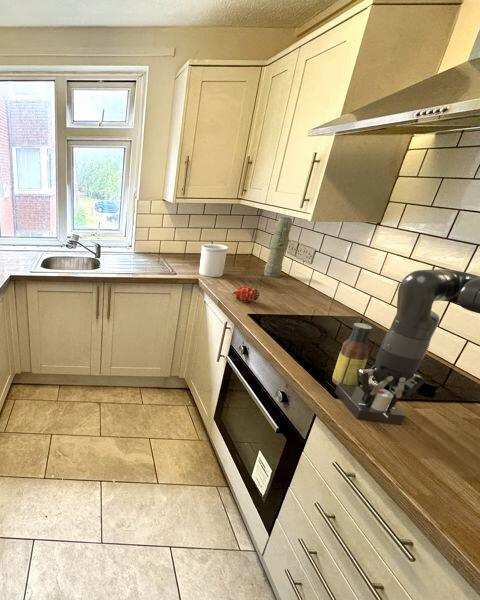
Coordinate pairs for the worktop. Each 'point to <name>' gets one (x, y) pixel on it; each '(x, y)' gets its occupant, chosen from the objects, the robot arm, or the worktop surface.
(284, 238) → the grey green carved column
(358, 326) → the sauce bottle
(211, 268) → the utensil holder
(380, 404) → the dial
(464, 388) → the worktop surface
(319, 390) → the worktop surface
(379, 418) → the rotary knob panel
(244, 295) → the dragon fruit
